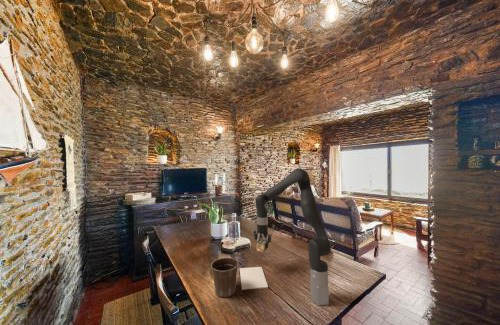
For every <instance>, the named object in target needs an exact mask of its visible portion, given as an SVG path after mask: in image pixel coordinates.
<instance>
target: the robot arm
mask: <svg viewBox="0 0 500 325" xmlns="http://www.w3.org/2000/svg"><path fill="white" fill-rule="evenodd" d="M296 183H297V185H298V188H299V191H300V207H301V211H302V215H303V217H304V219H305V220H306V222H307V223H308V224H309V225H310V226H311V227H312V229H313V230H314V232H315V235H316V238H312V239H309V241H308V242H307V244H308V245H307V250H308V252H307V253H308V261H309V266H310V268H309V269H310V271H309V272H310V273H309V274H310V276H309V278H310V279H309V280H310V283H309V284H310V300H311V301H312V303H314V304H316V305H317V306H318V307H319V306H329V305H330V298H329V297H330V295H329V290H330V288H329V266H328V263H327V262H326V261H325V260H322V258H321V257H323V256H329V255H330V254H331V250H332V246H331V244H330V240H329V237H328V235H327V232H326V230H325V227H324V225H323V222H322V218H321V215H320V211H319V207H318V205H317V202H316V198H315V195H314V193H313V192H314V191H313V190H312V189H313V188H312V185H311V178H310V175H309V173H308V172H307V171H306V170H305V169H303V168H301V167H300V168H295V169H294V170H292V171H291V172H290V173H289V174H288V175H287V176H285V177H284V178H283V179H282V180H281V181H279V182H277V183H276V184H275V185H273V186H272V187H270V188H268V189H267V190H266V191H265V192H263V193H261V194H258V195H256V197H255V200H254V201H255V202H254V203H255V207H256V208H255V209H256V213H257V214H256V217H257V218H256V230H254V231H253V236H254V240H255V241H256V242H259V241H260V240H261V239H264V241H265V249H266V250H268V248H269V247H268V243H269V244H270V243H271V242H272V233H269V231H268V229H269V223H268V222H269V221H268V220H269V219H268V209H267V208H266V204H267V203H269V202H270V201H271V200H273V199H275V198H277V197H279V196H280V195H281V194H283V193H284V192H285V191H286V190H287V188H289V187H291V186H293V185H295V184H296Z"/></svg>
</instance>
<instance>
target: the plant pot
mask: <svg viewBox="0 0 500 325" xmlns="http://www.w3.org/2000/svg"><path fill="white" fill-rule="evenodd" d="M210 267H211V272H212V275H213V276H212V277H213V283H214V284H213V285H214V294H215V295H216V296H217V297H219V298H228V297H231V296H232V295H234V294H235V292H236V290H237V272H238V267H239V261H238V260H237V259H236V258H232V257H221V258H218V259H215V260H213V262H211V265H210Z"/></svg>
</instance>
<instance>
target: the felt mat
mask: <svg viewBox="0 0 500 325" xmlns="http://www.w3.org/2000/svg"><path fill="white" fill-rule="evenodd" d="M239 273H240V274H239V275H240V283H241V284H240V285H241V291H243V290H254V289H255V290H256V289H268V288H269V286H268V282H267V279H266V276H265V274H264V270H263V267H262V266H256V267H255V266H254V267H239Z"/></svg>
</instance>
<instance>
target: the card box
mask: <svg viewBox="0 0 500 325" xmlns="http://www.w3.org/2000/svg"><path fill="white" fill-rule="evenodd" d="M256 242H257V241H256ZM269 246H270V243H268V248H269ZM266 250H267V249H265V241H264V239H263V238H261V239H260V241H259V242H257V243H256V251H257V252H261V253H264V252H265V251H266Z"/></svg>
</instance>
